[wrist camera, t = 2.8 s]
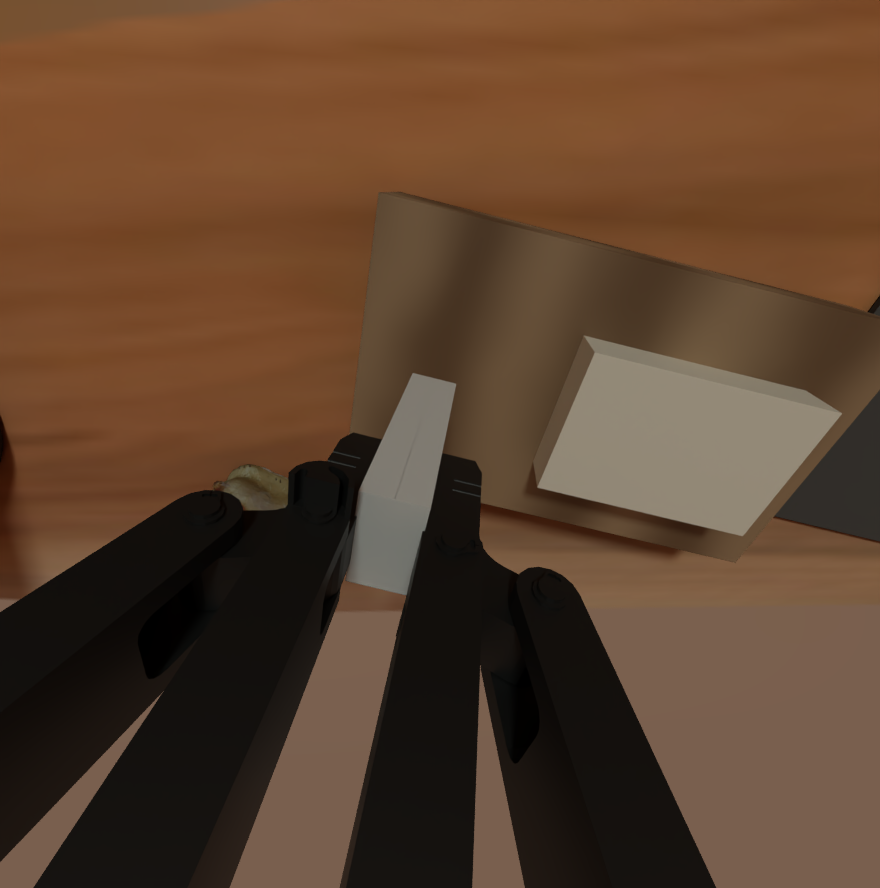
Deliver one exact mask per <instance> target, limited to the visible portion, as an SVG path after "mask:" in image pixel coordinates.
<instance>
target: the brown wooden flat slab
mask: <svg viewBox="0 0 880 888" xmlns="http://www.w3.org/2000/svg"><path fill="white" fill-rule="evenodd" d="M583 336H588V337H592V338H596V339H600V340H604V341H608V342H612V343H616V344H620V345H624V346H628V347H632V348H636V349H640V350H644V351H648V352H652V353H656V354H660V355H664V356H668V357H672V358H676V359H680V360H685V361H689V362H693V363H697V364H701V365H705V366H709V367H713V368H717V369H721V370H725V371H729V372H733V373H737V374H741V375H745V376H749V377H753V378H757V379H761V380H765V381H769V382H773V383H777V384H781V385H785V386H789V387H793V388H797V389H802V390H806V391H807V392H809V393H811V394H812V395H814V396H815V397H817V398H818V399H820V400H822V401H823V402H825V403H826V404H828V405H830V406H831V407H833V408H834V409H836V410H837V411H839V412H841V413H842V415H841V416H840V417H839V418H838V420H837V421H836V422H835V423H834V424H833V426H832V427H831V428H830V429H829V431H828V432H827V433H826V434H825V436H824V437H823V438H822V439H821V440H820V442H819V443H818V444H817V445H816V447H815V448H814V449H813V450H812V452H811V453H810V454H809V455H808V457H807V458H806V459H805V460H804V461H803V463H802V464H801V465H800V466H799V468H798V469H797V470H796V471H795V473H794V474H793V475H792V476H791V477H790V479H789V480H788V481H787V482H786V484H785V485H784V486H783V487H782V489H781V490H780V491H779V492H778V494H777V495H776V496H775V497H774V498H773V500H772V501H771V502H770V503H769V505H768V506H767V507H766V508H765V510H764V511H763V512H762V513H761V514H760V516H759V517H758V518H757V519H756V521H755V522H754V523H753V524H752V526H751V527H750V528H749V529H748V531H747V532H746V533H745V534H744V535H743V536H739V535H735V534H731V533H727V532H723V531H718V530H714V529H710V528H706V527H702V526H697V525H693V524H689V523H685V522H680V521H676V520H672V519H668V518H664V517H659V516H655V515H651V514H647V513H643V512H638V511H634V510H630V509H626V508H621V507H617V506H613V505H609V504H605V503H600V502H596V501H592V500H588V499H584V498H579V497H575V496H571V495H567V494H562V493H558V492H554V491H550V490H546V489H541V488H537V482H536V476H535V470H534V464H533V460H534V458H535V455H536V453H537V450H538V448H539V446H540V443H541V441H542V438H543V436H544V433H545V431H546V428H547V426H548V423H549V421H550V418H551V416H552V413H553V411H554V408H555V406H556V403H557V401H558V398H559V396H560V393H561V391H562V388H563V386H564V383H565V381H566V378H567V376H568V374H569V371H570V369H571V366H572V364H573V361H574V359H575V356H576V354H577V351H578V349H579V346H580V344H581V341H582V339H583ZM413 373H415V374H419V375H423V376H427V377H431V378H435V379H439V380H443V381H447V382H451V383H455V384H456V388H455V393H454V398H453V403H452V408H451V412H450V417H449V422H448V427H447V432H446V437H445V442H444V447H443V451H442V453H444V454H449V455H453V456H457V457H461V458H465V459H469V460H473V461H476V463H477V465H478V467H479V469H480V470H481V472H482V485H481V503H484V504H488V505H492V506H496V507H501V508H505V509H509V510H513V511H518V512H522V513H526V514H530V515H535V516H539V517H543V518H547V519H552V520H556V521H560V522H564V523H569V524H573V525H577V526H581V527H586V528H590V529H594V530H598V531H603V532H607V533H611V534H615V535H620V536H624V537H628V538H632V539H637V540H641V541H645V542H649V543H654V544H658V545H662V546H666V547H671V548H675V549H679V550H683V551H688V552H692V553H696V554H700V555H705V556H709V557H713V558H717V559H722V560H726V561H730V562H734V563H735V562H736V561H737V560H738V559H739V558H740V556H741V555H742V554H743V553H744V552H745V550H746V549H747V548H748V547H749V546H750V544H751V543H752V542H753V541H754V540H755V538H756V537H757V536H758V535H759V534H760V532H761V531H762V530H763V529H764V528H765V526H766V525H767V524H768V523H769V522H770V521H771V519H772V518H773V517H774V516H775V515H776V513H777V512H778V511H779V510H780V509H781V507H782V506H783V505H784V504H785V503H786V501H787V500H788V499H789V498H790V497H791V495H792V494H793V493H794V492H795V491H796V489H797V488H798V487H799V486H800V485H801V483H802V482H803V481H804V480H805V479H806V477H807V476H808V475H809V474H810V473H811V471H812V470H813V469H814V468H815V467H816V465H817V464H818V463H819V462H820V461H821V459H822V458H823V457H824V456H825V455H826V453H827V452H828V451H829V450H830V449H831V447H832V446H833V445H834V444H835V443H836V442H837V440H838V439H839V438H840V437H841V436H842V434H843V433H844V432H845V431H846V430H847V428H848V427H849V426H850V425H851V424H852V422H853V421H854V420H855V419H856V418H857V416H858V415H859V414H860V413H861V412H862V410H863V409H864V408H865V407H866V406H867V404H868V403H869V402H870V401H871V400H872V398H873V397H874V396H875V395H876V394H877V392H878V391H879V390H880V316H878V315H875V314H872V313H868V312H865V311H862V310H859V309H856V308H853V307H850V306H847V305H843V304H839V303H835V302H831V301H827V300H823V299H819V298H815V297H811V296H807V295H803V294H799V293H795V292H791V291H788V290H784V289H780V288H776V287H772V286H768V285H764V284H760V283H756V282H752V281H748V280H744V279H740V278H736V277H732V276H728V275H725V274H721V273H717V272H713V271H709V270H705V269H701V268H697V267H693V266H689V265H685V264H681V263H677V262H673V261H669V260H666V259H662V258H658V257H654V256H650V255H646V254H642V253H638V252H634V251H630V250H626V249H622V248H618V247H614V246H610V245H607V244H603V243H599V242H595V241H591V240H587V239H583V238H579V237H575V236H571V235H567V234H563V233H559V232H555V231H551V230H547V229H544V228H540V227H536V226H532V225H528V224H524V223H520V222H516V221H512V220H508V219H504V218H500V217H496V216H492V215H488V214H485V213H481V212H477V211H473V210H469V209H465V208H461V207H457V206H453V205H449V204H445V203H441V202H437V201H433V200H429V199H426V198H422V197H418V196H414V195H410V194H406V193H402V192H379V195H378V203H377V211H376V220H375V228H374V236H373V245H372V253H371V261H370V269H369V278H368V286H367V294H366V302H365V311H364V319H363V327H362V335H361V344H360V352H359V360H358V368H357V377H356V385H355V393H354V402H353V410H352V418H351V426H350V434H351V433H353V432H354V433H358V434H362V435H366V436H370V437H374V438H378V439H383V437H384V435H385V432H386V430H387V428H388V426H389V424H390V422H391V419H392V417H393V415H394V413H395V411H396V408H397V406H398V404H399V402H400V400H401V398H402V395H403V393H404V391H405V389H406V387H407V385H408V382H409V380H410V378H411V376H412V374H413Z"/></svg>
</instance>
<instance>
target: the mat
mask: <svg viewBox="0 0 880 888" xmlns="http://www.w3.org/2000/svg"><path fill="white" fill-rule="evenodd" d="M868 313H872V314H875V315H878V316H880V297H879V298H878V300H877V301H876V302H875V304H874V305H873V306H872V308H871V309H870V310H869V312H868ZM775 516H776V517H780V518H784V519H788V520H792V521H797V522H801V523H805V524H809V525H813V526H818V527H822V528H826V529H830V530H834V531H838V532H843V533H847V534H851V535H855V536H859V537H864V538H868V539H872V540H876V541H880V390H879V391H878V392H877V394H876V395H875V396H874V397H873V398H872V400H871V401H870V402H869V403H868V404H867V406H866V407H865V408H864V409H863V410H862V412H861V413H860V414H859V415H858V416H857V418H856V419H855V420H854V421H853V422H852V424H851V425H850V426H849V427H848V428H847V430H846V431H845V432H844V433H843V434H842V436H841V437H840V438H839V439H838V440H837V442H836V443H835V444H834V445H833V446H832V447H831V449H830V450H829V451H828V452H827V453H826V455H825V456H824V457H823V458H822V459H821V461H820V462H819V463H818V464H817V465H816V467H815V468H814V469H813V470H812V471H811V473H810V474H809V475H808V476H807V477H806V479H805V480H804V481H803V482H802V483H801V485H800V486H799V487H798V488H797V489H796V491H795V492H794V493H793V494H792V495H791V497H790V498H789V499H788V500H787V501H786V503H785V504H784V505H783V506H782V507H781V509H780V510H779V511H778V512H777V513H776V515H775Z"/></svg>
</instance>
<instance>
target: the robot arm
mask: <svg viewBox="0 0 880 888" xmlns="http://www.w3.org/2000/svg"><path fill="white" fill-rule="evenodd" d="M455 388H456V384H455V383H451V382H447V381H443V380H439V379H435V378H431V377H427V376H423V375H419V374H415V373H413V374H412V376H411V378H410V380H409V382H408V385H407V387H406V389H405V391H404V393H403V395H402V398H401V400H400V402H399V404H398V406H397V408H396V411H395V413H394V415H393V417H392V419H391V422H390V424H389V426H388V428H387V430H386V432H385V435H384V437H383V439H378V438H374V437H370V436H366V435H362V434H358V433H354V432H353V433H351V434H349V435H348V436H346V437H344V438H342V439H341V440H340V441H339V442H338V444H337V446H336V447H335V449H334V450H333V453H332V454H331V455H330V457H329V458H328V461H312V462H306V463H303V464H300V465H298V466H296V467H295V468H293V469H292V470H291V471H290V472H289V479H288V504H287V506H286V507H285V508H281V509H277V510H243V506H242V504H241V502H240V500H239V499H238V498H236V497H235V496H233V495H232V494H230V493H226V492H223V491H219V490H204V491H199V492H194V493H190V494H188V495H186V496H183V497H181V498H179V499H177V500H176V501H174V502H172V503H171V504H169V505H168V506H166V507H165V508H163V509H161V510H160V511H158V512H157V513H155V514H154V515H152V516H150V517H149V518H147V519H146V520H144V521H143V522H141V523H139V524H138V525H136V526H135V527H133V528H132V529H130V530H128V531H127V532H125V533H124V534H122V535H121V536H119V537H118V538H116V539H114V540H113V541H111V542H110V543H108V544H107V545H105V546H103V547H102V548H100V549H99V550H97V551H96V552H94V553H92V554H91V555H89V556H88V557H86V558H85V559H83V560H81V561H80V562H78V563H77V564H75V565H74V566H72V567H70V568H69V569H67V570H66V571H64V572H63V573H61V574H59V575H58V576H56V577H55V578H53V579H52V580H50V581H48V582H47V583H45V584H44V585H42V586H41V587H39V588H38V589H36V590H34V591H33V592H31V593H30V594H28V595H27V596H25V597H23V598H22V599H20V600H19V601H17V602H16V603H14V604H12V605H11V606H9V607H8V608H6V609H5V610H3V611H2V612H0V861H2V859H3V858H4V857H5V856H6V855H7V854H8V853H9V852H10V851H11V850H12V849H13V848H14V847H15V846H16V844H18V843H19V842H20V841H21V840H22V839H23V838H24V836H25V835H26V834H27V833H28V832H29V831H30V830H31V829H32V828H33V827H34V826H35V825H36V824H37V823H38V822H39V821H40V820H41V819H42V818H43V816H45V814H46V813H47V812H48V811H49V810H50V809H51V808H52V807H53V806H54V805H55V804H56V803H57V802H58V801H59V800H60V799H61V798H62V797H63V796H64V795H65V794H66V792H68V790H69V789H70V788H71V787H72V786H73V785H74V784H75V783H76V782H77V781H78V780H79V779H80V778H81V777H82V776H83V775H84V774H85V773H86V772H87V771H88V769H89V768H90V767H91V766H92V765H93V764H94V763H95V762H96V761H97V760H98V759H99V758H100V757H101V756H102V755H103V754H104V753H105V752H106V751H107V750H108V749H109V748H110V747H111V745H112V744H113V743H114V742H115V741H116V740H117V739H118V738H119V737H120V736H121V735H122V734H123V733H124V732H125V731H126V730H127V729H128V728H129V727H130V725H132V724H133V722H134V721H135V720H136V719H137V718H138V717H139V716H140V715H141V714H142V713H143V712H144V711H145V710H146V709H147V708H148V707H149V706H150V705H151V704H152V702H154V701H155V699H156V698H157V697H158V696H159V695H160V694H161V693H162V692H163V691H164V692H163V693H162V695H161V696H160V698H159V699H158V701H157V702H156V704H155V705H154V707H153V708H152V710H151V711H150V713H149V714H148V716H147V718H146V719H145V720H144V722H143V723H142V725H141V726H140V728H139V729H138V731H137V733H136V734H135V735H134V737H133V738H132V740H131V741H130V743H129V744H128V746H127V747H126V749H125V750H124V752H123V753H122V755H121V756H120V758H119V759H118V761H117V763H116V764H115V765H114V767H113V769H112V770H111V771H110V773H109V774H108V776H107V778H106V779H105V781H104V782H103V784H102V785H101V787H100V788H99V790H98V791H97V793H96V794H95V796H94V797H93V799H92V800H91V802H90V803H89V805H88V806H87V808H86V809H85V811H84V812H83V814H82V815H81V817H80V818H79V820H78V821H77V823H76V824H75V826H74V827H73V829H72V830H71V832H70V833H69V835H68V836H67V838H66V839H65V841H64V842H63V844H62V845H61V847H60V848H59V850H58V852H57V853H56V854H55V856H54V857H53V859H52V860H51V862H50V863H49V865H48V867H47V868H46V870H45V871H44V873H43V874H42V876H41V877H40V879H39V880H38V882H37V883H36V885H35V886H34V888H229V887H230V885H231V882H232V880H233V877H234V874H235V871H236V869H237V866H238V864H239V861H240V859H241V856H242V853H243V851H244V848H245V845H246V843H247V840H248V838H249V835H250V832H251V830H252V827H253V824H254V822H255V819H256V817H257V814H258V811H259V809H260V805H261V803H262V801H263V798H264V795H265V793H266V790H267V787H268V785H269V782H270V780H271V777H272V775H273V772H274V769H275V767H276V764H277V761H278V759H279V756H280V753H281V751H282V748H283V746H284V743H285V740H286V738H287V735H288V732H289V730H290V727H291V724H292V722H293V719H294V717H295V714H296V711H297V709H298V706H299V704H300V701H301V698H302V696H303V693H304V691H305V688H306V685H307V683H308V680H309V677H310V675H311V672H312V669H313V667H314V664H315V662H316V659H317V656H318V654H319V651H320V649H321V646H322V643H323V641H324V638H325V635H326V633H327V630H328V627H329V625H330V622H331V620H332V617H333V614H334V612H335V609H336V607H337V604H338V601H339V595H340V588H341V584H342V582H343V579H344V577H345V574H346V572H347V574H346V580H345V581H349V582H353V583H357V584H361V585H365V586H370V587H374V588H378V589H382V590H386V591H390V592H394V593H399V594H403V595H406V600H405V604H404V607H403V611H402V615H401V619H400V622H399V626H398V630H397V634H396V636H397V637H396V641H395V646H394V650H393V655H392V659H391V663H390V668H389V673H388V677H387V681H386V685H385V690H384V694H383V699H382V703H381V708H380V712H379V716H378V721H377V725H376V730H375V734H374V739H373V743H372V747H371V752H370V756H369V761H368V765H367V769H366V774H365V778H364V783H363V787H362V791H361V796H360V800H359V805H358V809H357V813H356V818H355V822H354V827H353V831H352V836H351V840H350V845H349V849H348V853H347V858H346V862H345V867H344V871H343V875H342V880H341V884H340V888H472V875H473V846H474V819H475V792H476V763H477V736H478V735H477V734H478V707H479V706H478V705H479V680H480V665H481V672H482V677H483V682H484V687H485V692H486V697H487V702H488V707H489V712H490V717H491V722H492V727H493V731H494V737H495V742H496V746H497V751H498V756H499V761H500V766H501V771H502V776H503V781H504V786H505V791H506V796H507V801H508V805H509V811H510V816H511V820H512V825H513V831H514V836H515V840H516V845H517V851H518V855H519V860H520V865H521V870H522V875H523V880H524V885H525V888H716V886H715V884H714V882H713V880H712V878H711V876H710V874H709V871H708V869H707V867H706V865H705V863H704V861H703V858H702V856H701V854H700V852H699V850H698V848H697V846H696V843H695V841H694V839H693V837H692V835H691V833H690V831H689V828H688V826H687V824H686V822H685V820H684V818H683V816H682V813H681V811H680V809H679V807H678V805H677V803H676V801H675V798H674V796H673V794H672V792H671V790H670V788H669V786H668V783H667V781H666V779H665V777H664V775H663V773H662V770H661V768H660V766H659V764H658V762H657V760H656V758H655V756H654V753H653V751H652V749H651V747H650V745H649V743H648V740H647V738H646V736H645V734H644V732H643V730H642V727H641V725H640V723H639V721H638V719H637V717H636V715H635V713H634V710H633V708H632V706H631V704H630V702H629V700H628V697H627V695H626V693H625V691H624V689H623V687H622V684H621V683H620V680H619V678H618V676H617V674H616V672H615V669H614V667H613V665H612V663H611V661H610V659H609V657H608V654H607V652H606V650H605V648H604V646H603V644H602V642H601V639H600V637H599V635H598V633H597V631H596V629H595V627H594V625H593V622H592V620H591V618H590V616H589V614H588V611H587V609H586V607H585V605H584V603H583V601H582V599H581V596H580V594H579V593H578V592H577V590H576V589H575V587H574V586H573V584H572V583H571V582H569V581H568V580H567V579H566V578H565V577H564V576H562V575H561V574H559V573H557V572H555V571H553V570H551V569H546V568H541V567H533V568H527V569H526V570H524V571H523V572H521V573H520V574H517V573H515V572H513V571H511V570H509V569H507V568H505V567H503V566H502V565H500V564H499V563H497V562H496V561H494V560H493V559H492V558H491V557H490V556H489V555H488V554H487V553H486V551H485V550H484V549H483V544H482V542H481V540H480V537H479V527H480V507H481V485H482V472H481V470H480V469H479V467H478V465H477V463H476V461H473V460H469V459H465V458H461V457H457V456H453V455H449V454H444V453H442V451H443V447H444V442H445V437H446V432H447V427H448V422H449V417H450V412H451V408H452V403H453V398H454V393H455ZM2 448H3V443H2V435H1V430H0V460H1V457H2Z"/></svg>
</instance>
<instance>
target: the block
mask: <svg viewBox="0 0 880 888" xmlns="http://www.w3.org/2000/svg"><path fill="white" fill-rule="evenodd" d="M841 415H842V413H841V412H839V411H837V410H836V409H834V408H833V407H831V406H830V405H828V404H826V403H825V402H823V401H822V400H820V399H818V398H817V397H815V396H814V395H812V394H811V393H809V392H807V391H806V390H802V389H797V388H793V387H789V386H785V385H781V384H777V383H773V382H769V381H765V380H761V379H757V378H753V377H749V376H745V375H741V374H737V373H733V372H729V371H725V370H721V369H717V368H713V367H709V366H705V365H701V364H697V363H693V362H689V361H685V360H680V359H676V358H672V357H668V356H664V355H660V354H656V353H652V352H648V351H644V350H640V349H636V348H632V347H628V346H624V345H620V344H616V343H612V342H608V341H604V340H600V339H596V338H592V337H588V336H583V339H582V341H581V344H580V346H579V349H578V351H577V354H576V356H575V359H574V361H573V364H572V366H571V369H570V371H569V374H568V376H567V378H566V381H565V383H564V386H563V388H562V391H561V393H560V396H559V398H558V401H557V403H556V406H555V408H554V411H553V413H552V416H551V418H550V421H549V423H548V426H547V428H546V431H545V433H544V436H543V438H542V441H541V443H540V446H539V448H538V450H537V453H536V455H535V458H534V460H533V464H534V470H535V476H536V482H537V488H541V489H546V490H550V491H554V492H558V493H562V494H567V495H571V496H575V497H579V498H584V499H588V500H592V501H596V502H600V503H605V504H609V505H613V506H617V507H621V508H626V509H630V510H634V511H638V512H643V513H647V514H651V515H655V516H659V517H664V518H668V519H672V520H676V521H680V522H685V523H689V524H693V525H697V526H702V527H706V528H710V529H714V530H718V531H723V532H727V533H731V534H735V535H739V536H743V535H744V534H745V533H746V532H747V531H748V529H749V528H750V527H751V526H752V524H753V523H754V522H755V521H756V519H757V518H758V517H759V516H760V514H761V513H762V512H763V511H764V510H765V508H766V507H767V506H768V505H769V503H770V502H771V501H772V500H773V498H774V497H775V496H776V495H777V494H778V492H779V491H780V490H781V489H782V487H783V486H784V485H785V484H786V482H787V481H788V480H789V479H790V477H791V476H792V475H793V474H794V473H795V471H796V470H797V469H798V468H799V466H800V465H801V464H802V463H803V461H804V460H805V459H806V458H807V457H808V455H809V454H810V453H811V452H812V450H813V449H814V448H815V447H816V445H817V444H818V443H819V442H820V440H821V439H822V438H823V437H824V436H825V434H826V433H827V432H828V431H829V429H830V428H831V427H832V426H833V424H834V423H835V422H836V421H837V420H838V418H839V417H840V416H841Z"/></svg>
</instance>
